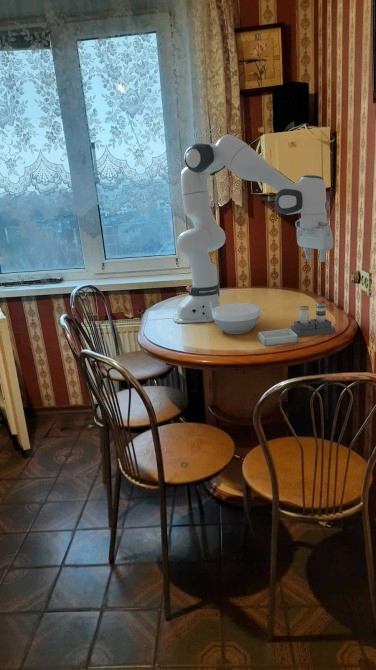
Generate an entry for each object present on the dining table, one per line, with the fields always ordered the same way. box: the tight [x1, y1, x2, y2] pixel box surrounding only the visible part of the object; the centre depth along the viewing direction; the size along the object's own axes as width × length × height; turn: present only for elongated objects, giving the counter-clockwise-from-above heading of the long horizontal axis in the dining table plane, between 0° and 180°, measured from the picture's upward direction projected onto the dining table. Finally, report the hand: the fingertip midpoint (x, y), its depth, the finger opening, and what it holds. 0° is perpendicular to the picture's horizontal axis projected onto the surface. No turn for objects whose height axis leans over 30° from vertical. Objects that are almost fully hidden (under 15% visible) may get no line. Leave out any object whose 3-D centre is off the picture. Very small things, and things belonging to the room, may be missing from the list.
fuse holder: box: [290, 318, 336, 338], centre depth 175 cm, size 14×8×4 cm, turn 97°
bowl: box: [212, 302, 261, 335], centre depth 184 cm, size 19×19×9 cm
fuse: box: [298, 305, 310, 325], centre depth 173 cm, size 4×4×8 cm
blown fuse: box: [315, 303, 327, 323], centre depth 174 cm, size 4×4×8 cm
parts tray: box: [257, 328, 299, 347], centre depth 169 cm, size 12×9×2 cm
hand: (315, 260), depth 172 cm, fingers open, 8 cm apart
